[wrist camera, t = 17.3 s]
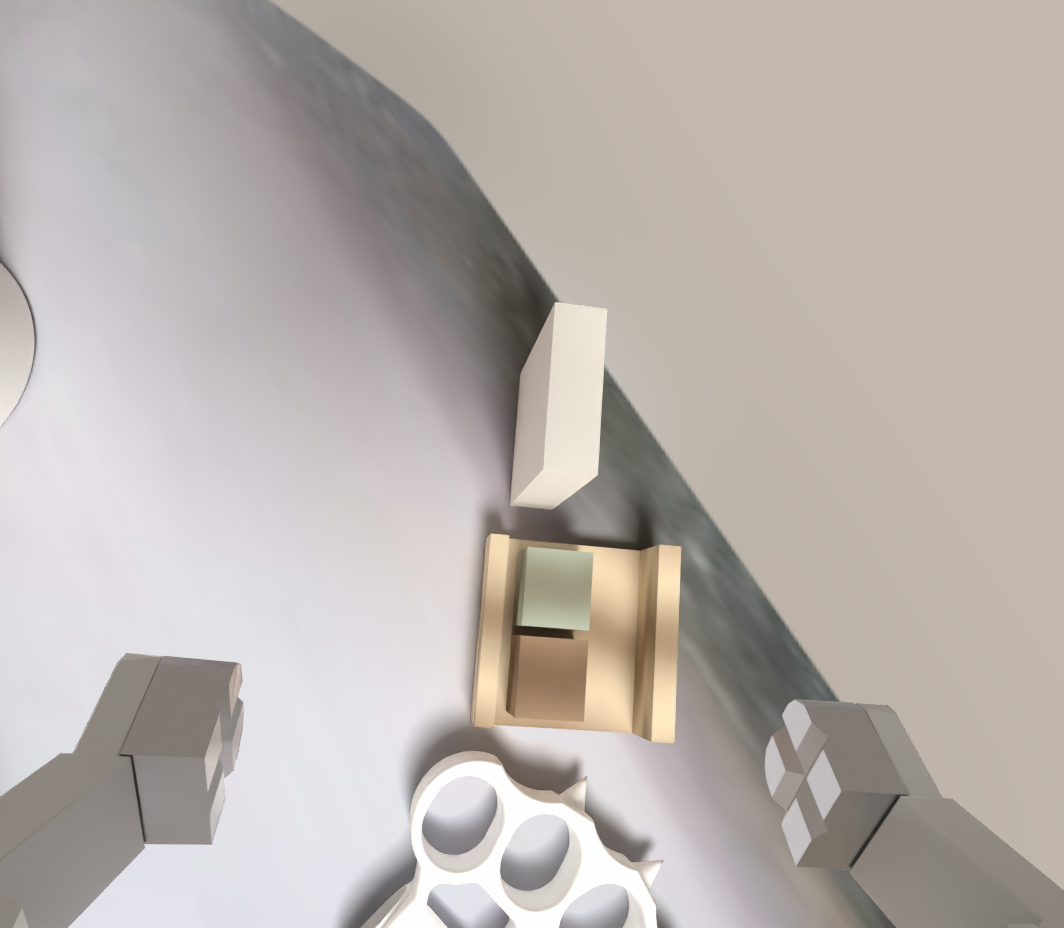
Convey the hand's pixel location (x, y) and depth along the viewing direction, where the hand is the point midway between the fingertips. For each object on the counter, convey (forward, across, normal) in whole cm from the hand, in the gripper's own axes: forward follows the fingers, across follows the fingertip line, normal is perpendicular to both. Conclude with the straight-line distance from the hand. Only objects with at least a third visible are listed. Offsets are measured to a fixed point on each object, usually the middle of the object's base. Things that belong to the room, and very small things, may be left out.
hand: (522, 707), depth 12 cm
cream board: (+32, -5, +15) cm, 36 cm away
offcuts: (+24, -6, +22) cm, 33 cm away
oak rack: (+25, -8, +23) cm, 34 cm away
